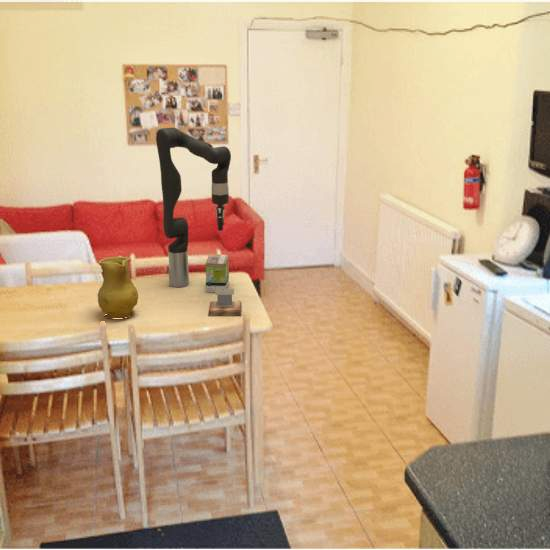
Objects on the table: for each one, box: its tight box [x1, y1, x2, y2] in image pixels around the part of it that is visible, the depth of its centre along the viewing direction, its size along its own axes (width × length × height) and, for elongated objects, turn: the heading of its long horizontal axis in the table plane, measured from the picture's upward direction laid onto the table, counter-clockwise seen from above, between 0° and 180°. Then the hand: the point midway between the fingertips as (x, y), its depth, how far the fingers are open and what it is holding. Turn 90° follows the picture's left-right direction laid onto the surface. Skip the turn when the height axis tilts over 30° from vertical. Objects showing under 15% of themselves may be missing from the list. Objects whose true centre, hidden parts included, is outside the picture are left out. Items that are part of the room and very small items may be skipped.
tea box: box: [205, 254, 230, 293], centre depth 326 cm, size 15×10×15 cm
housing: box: [214, 288, 235, 308], centre depth 297 cm, size 5×8×7 cm, turn 91°
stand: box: [208, 300, 242, 317], centre depth 299 cm, size 14×12×2 cm
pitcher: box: [97, 256, 139, 319], centre depth 292 cm, size 17×19×25 cm
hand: (220, 227), depth 305 cm, fingers open, 8 cm apart
